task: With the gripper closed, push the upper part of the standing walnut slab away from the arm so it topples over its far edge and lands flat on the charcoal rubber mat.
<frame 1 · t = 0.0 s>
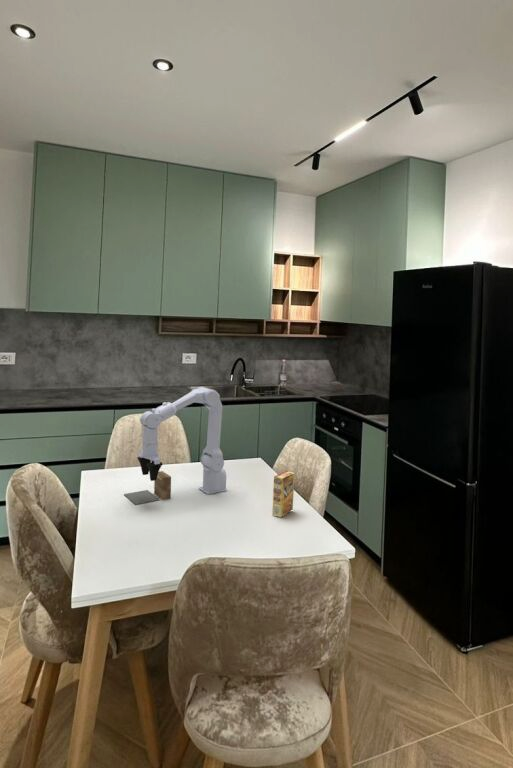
hand: (149, 477, 184), 10 cm above the table, fingers open, 7 cm apart
candy box: (282, 513, 181), on the table
rubber mat: (141, 497, 190), on the table
walnut slab: (162, 495, 193), on the table
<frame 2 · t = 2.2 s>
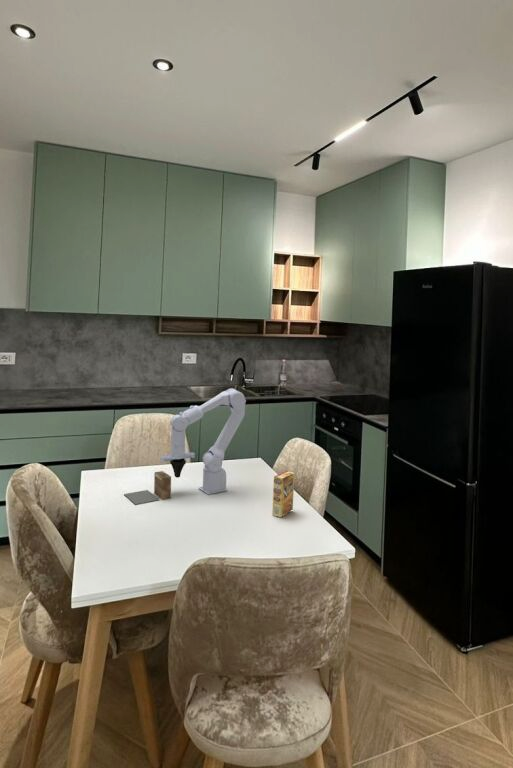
hand: (177, 476, 196), 7 cm above the table, fingers closed
nothing on the table moved.
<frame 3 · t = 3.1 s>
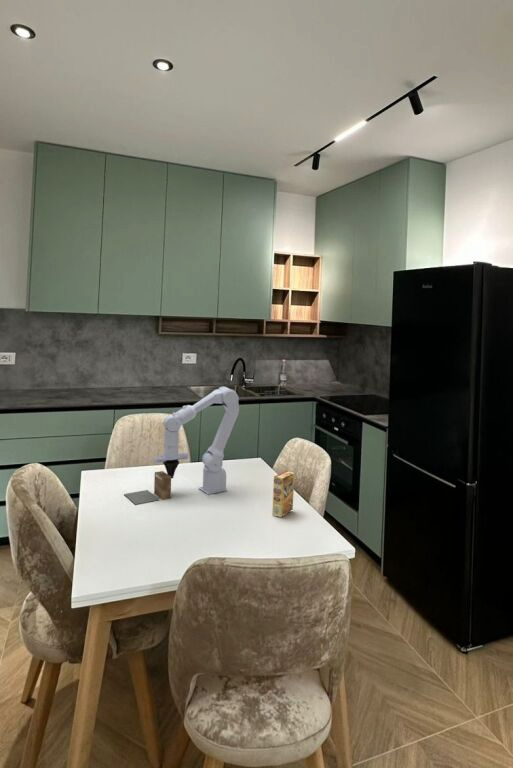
hand: (170, 477, 194), 7 cm above the table, fingers closed
nothing on the table moved.
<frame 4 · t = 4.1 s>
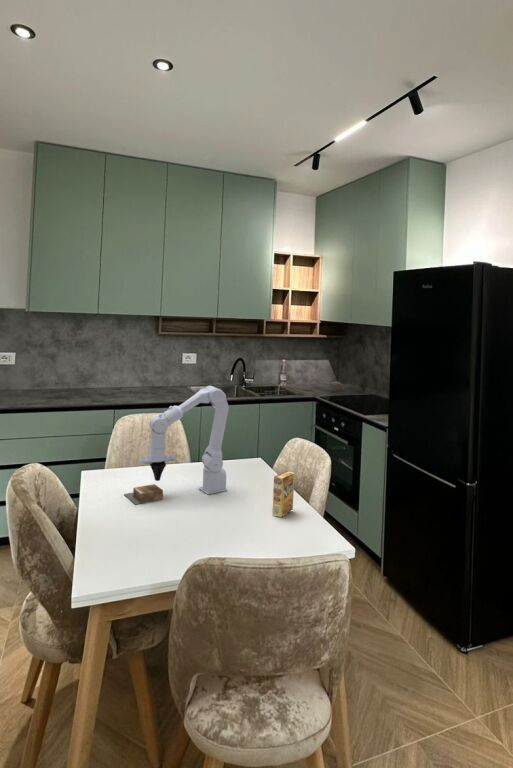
hand: (157, 480, 191), 7 cm above the table, fingers closed
walnut slab: (158, 491, 192), point 2 cm above the table, tilted 90°, touching rubber mat
everything else where it was.
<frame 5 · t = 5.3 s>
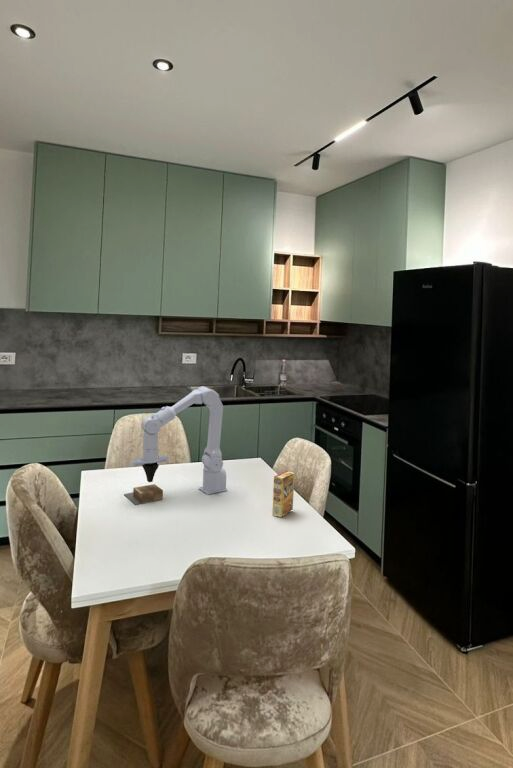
hand: (149, 481, 189), 7 cm above the table, fingers closed
nothing on the table moved.
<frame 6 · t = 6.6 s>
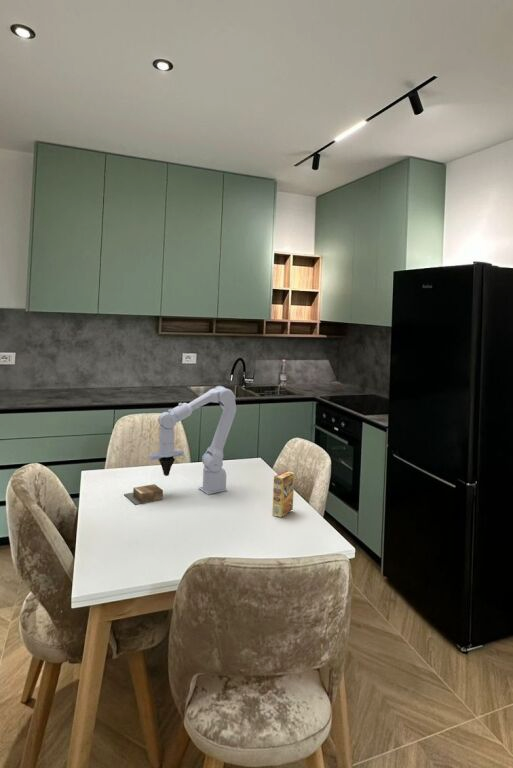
hand: (166, 475, 193), 8 cm above the table, fingers closed
nothing on the table moved.
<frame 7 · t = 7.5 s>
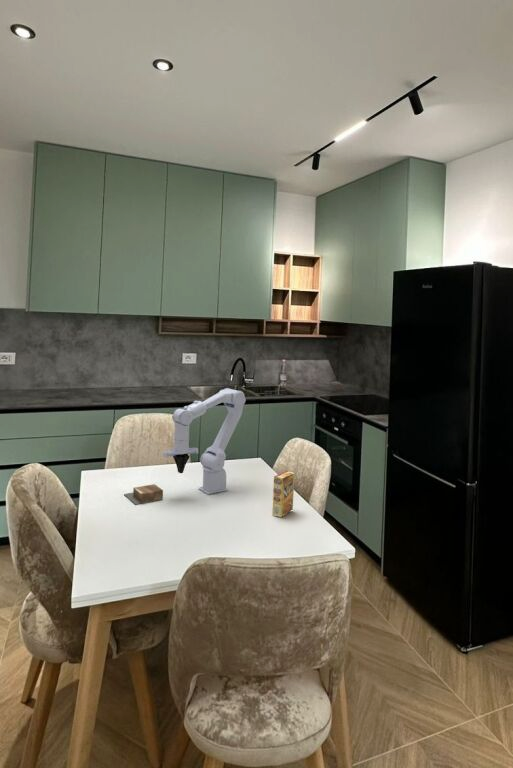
hand: (180, 472, 191), 10 cm above the table, fingers closed
nothing on the table moved.
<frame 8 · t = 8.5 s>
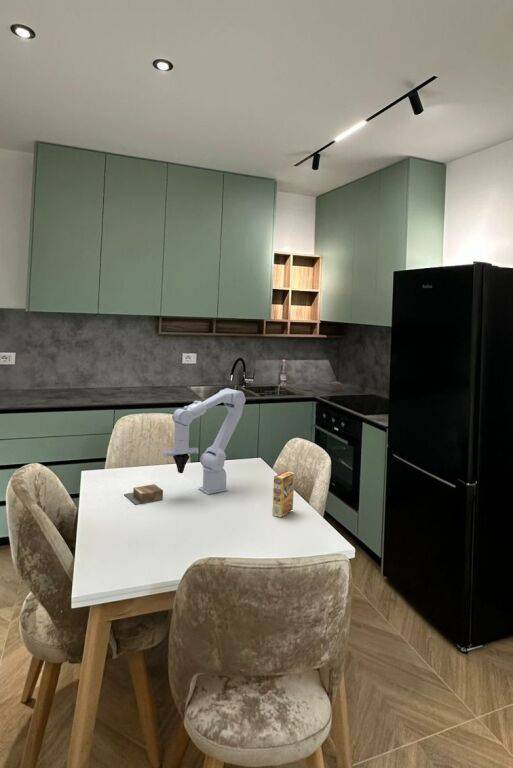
hand: (180, 472, 191), 10 cm above the table, fingers closed
nothing on the table moved.
at the end: walnut slab tilted 90°; walnut slab point 2.1 cm above the table; walnut slab inside the target area (7.4 cm from its centre), point 2.1 cm above the table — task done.
